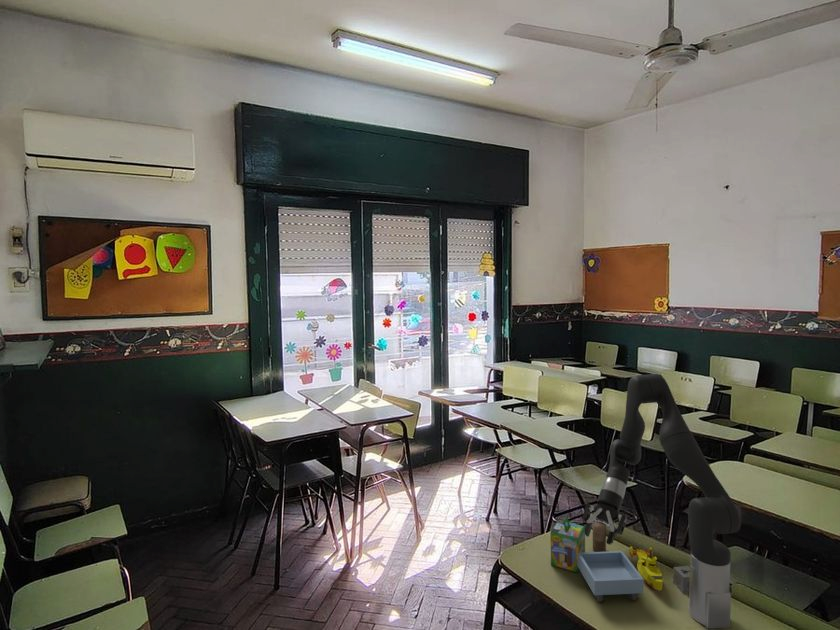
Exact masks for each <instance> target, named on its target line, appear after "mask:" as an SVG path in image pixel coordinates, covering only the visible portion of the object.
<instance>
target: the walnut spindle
mask: <svg viewBox="0 0 840 630" xmlns="http://www.w3.org/2000/svg"><path fill="white" fill-rule="evenodd" d="M606 541H607V523H605V522H601V521H598V522H594V523H593V525H592V552H607V542H606Z"/></svg>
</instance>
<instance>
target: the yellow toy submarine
mask: <svg viewBox="0 0 840 630" xmlns="http://www.w3.org/2000/svg"><path fill="white" fill-rule="evenodd" d="M648 548H649V549H648ZM648 548H644V547H639V549H638V548H636V549H635V550H634V548H633V546H630V547H629V556H630V557H634V556H636V558H637V563H636V565H637V566H636V569H637V571H638V572H639V574H640V575H641V576H642V578H643V579H644V583H646V584H647V585H648V586H650V587H651V588H653V590H656V591H662V589H663V585H664V577H663V576H664V575H663V574H662V572H661V570H660V568H659V567H658V564H657V562H656V561H657V560H658V558H657V556H654V551H653V548H652V547H651V546H650V547H648Z"/></svg>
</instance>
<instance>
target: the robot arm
mask: <svg viewBox="0 0 840 630" xmlns="http://www.w3.org/2000/svg"><path fill="white" fill-rule="evenodd" d="M653 403H654V404H657V405H658V406H659V408H660V411H661V414H662V419H661V424H660V427H659V435H658V436H659V437H658V439H659V442H660V445H661V448H662V449H663V452H664V453H665V455H666V457H667V459H668V461H669V462H670V463H671V464H672V466H674V467H675V468H676V469H677V470H678V471H680V472H681V473H682V474H683V475H685V476H686V477H687V478H688V479H690V480H691V481H692V482H693V483H694V484H696V486H697V487H698V488H699V489H700V491H701V492H702V494H703V496H704V497H695V498H692V499H691V500H690V501H689V504H688V511H687V519H688V522H687V523H688V540H689V544H690V545H689V546H690V565H689V566H690V592H689V593H688V594H689V597H688V598H689V600H688V612H689V614H690V616H691V617H692V618H693V620H694V621H696V622H698V623H699V624H701V625H703V626H705V628H707V629H726V628H729V629H730V628H731V611H732V610H731V609H732V608H731V607H732V605H731V603H732V593H731V592H730V584H731V583H730V581H731V562H732V561H731V559H732V557H731V556H732V554H731V553H732V552H731V550H730V549H729V547H728V546H726V545H725V544H724V543H722V542H721V541H719V540H716V539H715V538H714V535H725V534H734V533H737V532H739V531H740V529H741V527H742V521H741V517H740V513H739V509H738V508H737V507H736V505H735V503H734V501H733V500H732V498H731V496H730V495H729V494H728V492H727V491H726V489H725V488H724V486H723V484H722V483H721V482H720V480H719V478H717V476H716V475H715V473H714V471H713V470H712V467H710V464H709V462H708V461H707V459H706V458H705V456H704V454H703V452H702V450H701V448H700V446H699V444H698V442H697V440H696V439H695V437H694V434H693V433H692V431H691V430H690V428H689V426H688V425H687V422H686V421H685V419H684V418H683V417H684V416H682V413H681V412H680V410H679V408H678V404H677V403H676V400H675V398H674V396H673V393H672V391H671V389H670V385H668V382H667V380H666V378H665V377H664V376H662V375H661V374H657V373H651V374H639V375H634V376H632V377H631V378H630V379H629V382H628V384H627V393H626V402H625V412H624V413H625V414H624V415H625V416H624V420H623V423H622V427H621V429H620V432H619V433H620V434H619V439H614V440H613V441H612V442H611V445H610V447H609V452H610V453H609V454H610V455H609V456H610V457H609V458H610V459H609V465H608V470H607V473H606V475H605V479H604V481H603V483H602V486H601V488H600V492H599V495H598V498H597V499H596V500H597V501H596V504H595V505H592V504H590V503H586V504H585V506H584V511H583V515H582V520H583V522H584V523H585V537H590V534H591V530H593V523H594V522H603V523H605V524H606V525H609V528H610V531H608V535H607V537H606V545H610V546H611V545H612V544H613V543H614V541H615V540H614V539H615V537H616V535H620V536H621V535H623V534H624V533H623V532H624V530H625V528H626V526H627V522H628V518H627V516H626V515H625V514H620V511H621V507H622V505H623V504H622V503H623V501H624V498H625V494H626V489H627V488H626V487H627V485H628V481H629V479H630V478H629V477H630V475H631V471H630V470H629V468H627V467H626V466H624V465H623V464H621V462H620V461H622V462H624V463H626V464H629V465H632V466H634V465H637V464H639V462H641V459H642V446H641V443H642V439H643V436H644V433H645V430H646V425H645V424H646V423H645V420H644V418H643V416H642V415H641V413H640V411H639V408H640V407H641V404H653ZM593 511H594V513H593V514H591V513H592V512H593ZM616 520H618V521H619V523H618V525H617V528H616V524H615V521H616Z"/></svg>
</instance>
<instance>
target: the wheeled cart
mask: <svg viewBox="0 0 840 630" xmlns="http://www.w3.org/2000/svg"><path fill="white" fill-rule="evenodd" d="M577 566H578V568H579V569H580V573H581V575H582V576H583V579H584V581H585V582H586V583H587V585H588V587H589V588H590V590H591V593H593V595H594V596H595V599H596V601H597V602H600V603H601V602H604V596H609V595H628V596H627V597H628V599H629V600H630V601H637V599H638V598H637V597H638V595H637V594H644V586H645V584H644V583H645V581H644V579H643V578H642V576H641V575H640V573H639V571H638V569H637V567H635V566H634V564H633V563H632V561H630V559H629V558H628V556H627V555H626V554H625V552H623V550H615V551H613V550H612V551H606V552H594V551H592V552H591V551H589V552H588V551H587V552H586V551H585V552H583V553H577Z"/></svg>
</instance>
